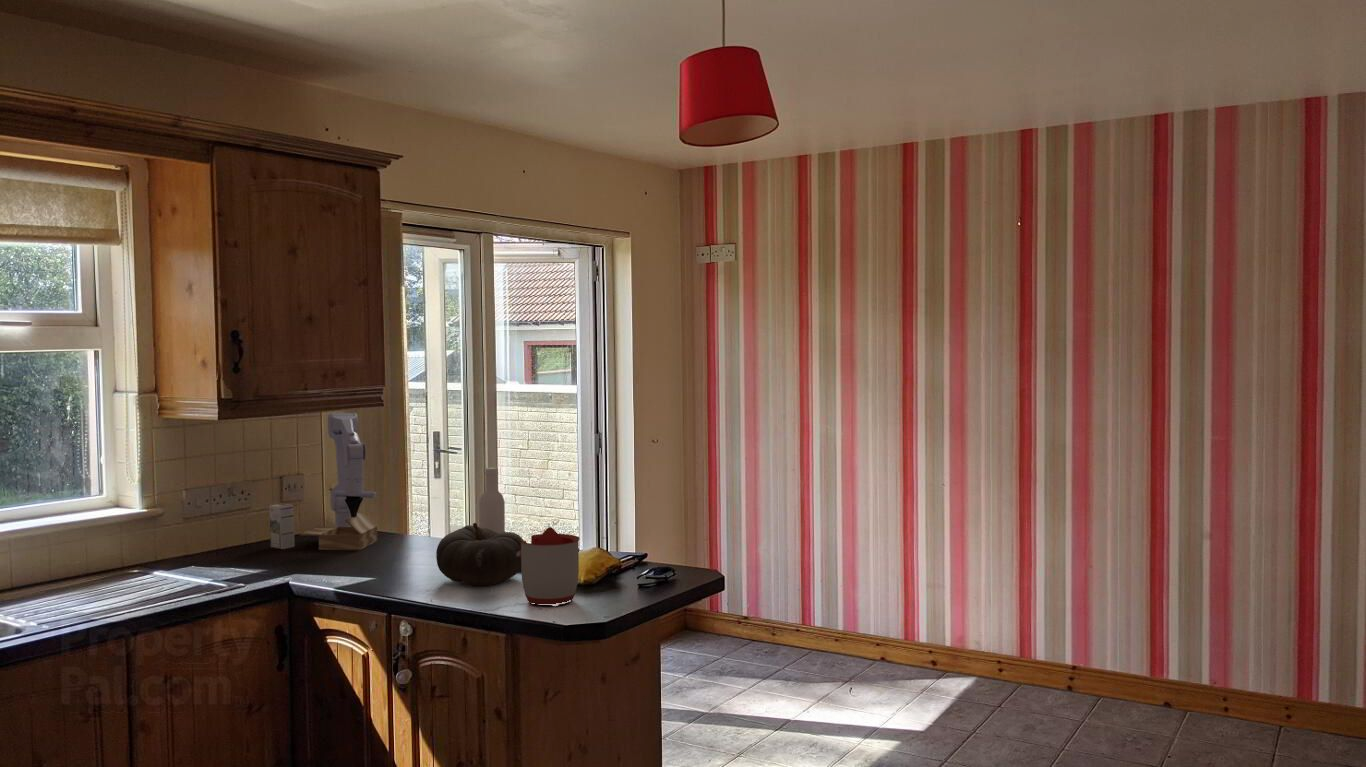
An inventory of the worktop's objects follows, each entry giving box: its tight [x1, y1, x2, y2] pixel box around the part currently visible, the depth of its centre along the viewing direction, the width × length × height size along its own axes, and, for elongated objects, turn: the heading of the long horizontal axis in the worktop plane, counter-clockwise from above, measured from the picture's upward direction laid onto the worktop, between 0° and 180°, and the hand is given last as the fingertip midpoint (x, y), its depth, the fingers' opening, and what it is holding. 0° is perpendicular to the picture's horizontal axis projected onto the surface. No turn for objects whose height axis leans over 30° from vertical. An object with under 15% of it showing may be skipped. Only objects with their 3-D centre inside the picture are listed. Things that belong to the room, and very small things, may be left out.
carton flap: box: [345, 512, 378, 535], centre depth 354 cm, size 14×7×1 cm
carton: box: [299, 526, 378, 551], centre depth 354 cm, size 16×21×5 cm
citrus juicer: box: [516, 526, 580, 604], centre depth 275 cm, size 16×17×20 cm
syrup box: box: [269, 503, 295, 550], centre depth 351 cm, size 6×6×14 cm
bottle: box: [478, 467, 506, 533], centre depth 323 cm, size 8×8×30 cm
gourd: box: [435, 522, 524, 586], centre depth 301 cm, size 25×25×17 cm
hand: (354, 518), depth 354 cm, fingers closed, pressing on carton flap
